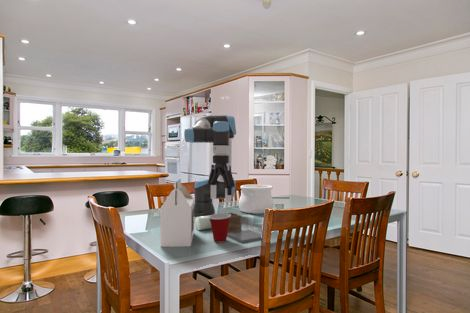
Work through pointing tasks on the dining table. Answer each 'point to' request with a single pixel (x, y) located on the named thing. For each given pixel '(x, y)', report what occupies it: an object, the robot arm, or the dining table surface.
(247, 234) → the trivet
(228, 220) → the plastic cup
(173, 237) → the gable box
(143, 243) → the dining table surface
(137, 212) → the dining table surface
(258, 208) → the pot
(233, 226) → the walnut box
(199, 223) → the pale green capsule
